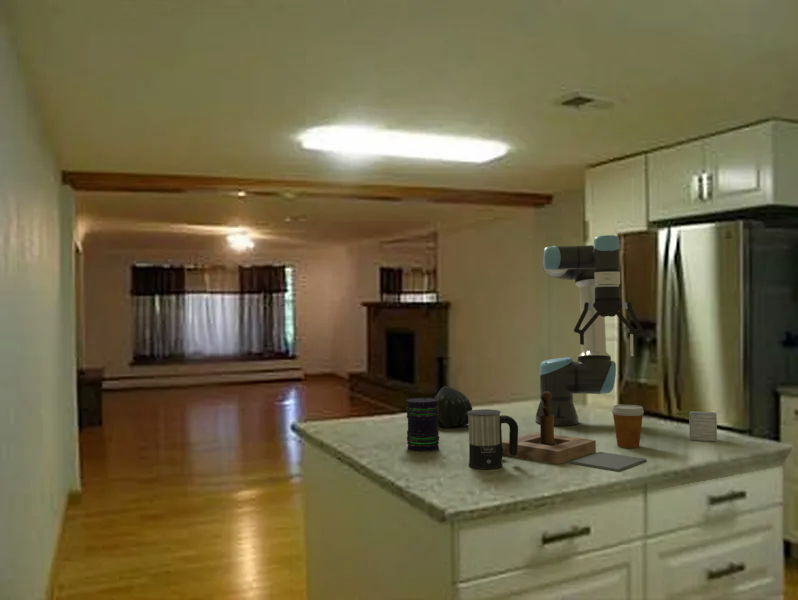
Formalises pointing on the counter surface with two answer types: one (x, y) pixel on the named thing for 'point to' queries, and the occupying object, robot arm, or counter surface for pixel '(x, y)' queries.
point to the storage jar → (422, 424)
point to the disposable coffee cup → (628, 425)
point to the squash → (452, 407)
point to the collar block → (551, 448)
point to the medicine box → (703, 426)
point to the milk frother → (489, 438)
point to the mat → (608, 461)
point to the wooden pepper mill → (547, 422)
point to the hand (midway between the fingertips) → (608, 355)
